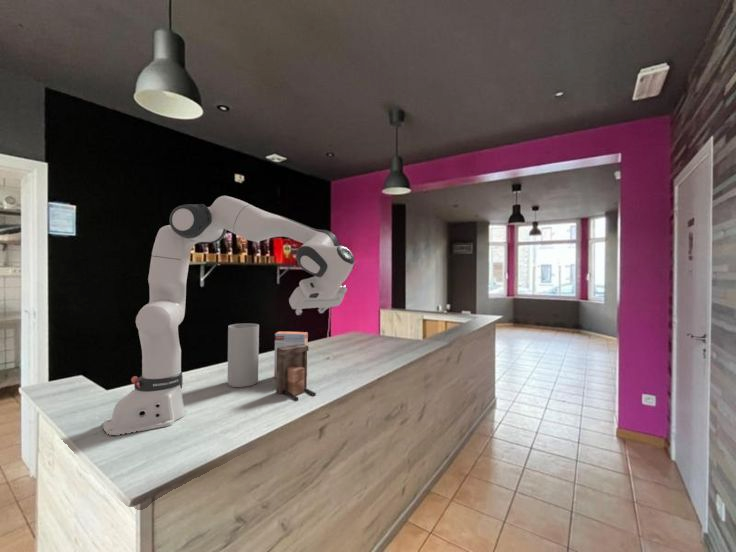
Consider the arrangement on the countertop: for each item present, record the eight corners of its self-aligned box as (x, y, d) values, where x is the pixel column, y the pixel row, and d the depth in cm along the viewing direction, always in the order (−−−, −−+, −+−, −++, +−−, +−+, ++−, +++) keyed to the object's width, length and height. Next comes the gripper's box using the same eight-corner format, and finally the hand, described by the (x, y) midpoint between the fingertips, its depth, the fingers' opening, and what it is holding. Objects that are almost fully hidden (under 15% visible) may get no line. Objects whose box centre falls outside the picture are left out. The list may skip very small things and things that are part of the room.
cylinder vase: (262, 378, 155) (262, 323, 155) (252, 388, 143) (253, 328, 142) (234, 378, 155) (235, 323, 155) (222, 387, 143) (223, 327, 142)
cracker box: (307, 376, 160) (308, 331, 160) (304, 380, 154) (304, 334, 154) (278, 374, 162) (279, 330, 161) (273, 378, 156) (274, 332, 155)
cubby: (292, 401, 129) (293, 354, 129) (276, 392, 139) (277, 347, 138) (319, 394, 137) (320, 349, 137) (302, 385, 147) (302, 344, 147)
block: (293, 395, 136) (293, 370, 135) (286, 392, 139) (287, 367, 139) (304, 392, 139) (304, 368, 139) (297, 389, 143) (298, 365, 142)
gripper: (345, 280, 126) (329, 304, 133) (296, 280, 112) (281, 307, 119) (352, 293, 122) (336, 317, 130) (303, 295, 109) (287, 321, 116)
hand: (309, 312), depth 124 cm, fingers open, 8 cm apart
